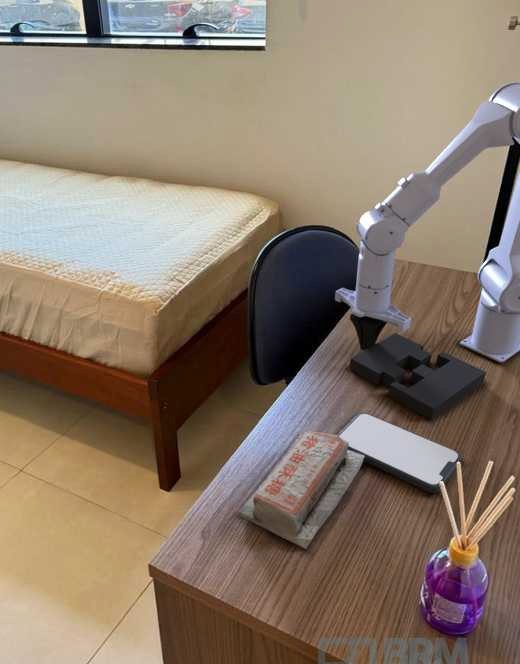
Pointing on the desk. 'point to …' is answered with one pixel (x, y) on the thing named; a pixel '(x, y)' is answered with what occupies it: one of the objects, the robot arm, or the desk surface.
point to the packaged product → (304, 487)
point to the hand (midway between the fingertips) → (366, 348)
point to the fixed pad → (438, 386)
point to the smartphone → (401, 452)
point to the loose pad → (389, 360)
